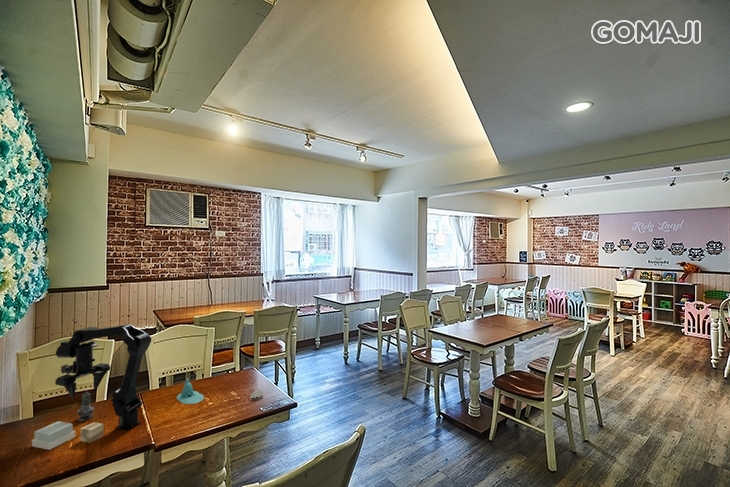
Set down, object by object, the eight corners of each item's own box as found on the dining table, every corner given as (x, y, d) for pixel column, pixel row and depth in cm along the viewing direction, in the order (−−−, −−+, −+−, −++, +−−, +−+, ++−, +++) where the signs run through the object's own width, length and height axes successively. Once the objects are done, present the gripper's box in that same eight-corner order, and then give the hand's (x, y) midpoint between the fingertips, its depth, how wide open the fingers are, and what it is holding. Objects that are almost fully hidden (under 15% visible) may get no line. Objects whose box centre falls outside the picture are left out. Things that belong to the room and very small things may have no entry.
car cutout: (262, 394, 178) (262, 386, 178) (265, 399, 172) (265, 391, 172) (232, 401, 170) (232, 392, 170) (234, 406, 165) (234, 397, 165)
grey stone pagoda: (84, 422, 147) (85, 394, 148) (73, 420, 149) (74, 393, 149) (97, 415, 153) (98, 388, 153) (86, 414, 154) (87, 387, 155)
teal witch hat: (184, 408, 162) (184, 390, 162) (170, 395, 175) (171, 378, 175) (210, 400, 170) (210, 383, 171) (195, 388, 184) (195, 372, 184)
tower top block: (72, 431, 135) (72, 423, 135) (49, 442, 128) (49, 434, 128) (58, 428, 138) (58, 421, 138) (34, 439, 130) (34, 431, 130)
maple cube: (103, 436, 137) (103, 423, 137) (90, 443, 132) (90, 430, 132) (93, 434, 138) (93, 422, 138) (80, 441, 133) (80, 428, 133)
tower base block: (75, 438, 136) (75, 430, 136) (49, 451, 127) (49, 443, 127) (58, 435, 138) (58, 427, 138) (31, 447, 129) (32, 439, 129)
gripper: (92, 349, 158) (92, 383, 157) (45, 363, 140) (45, 401, 139) (111, 351, 155) (111, 385, 154) (65, 365, 137) (65, 404, 137)
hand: (84, 393), depth 146 cm, fingers open, 9 cm apart
